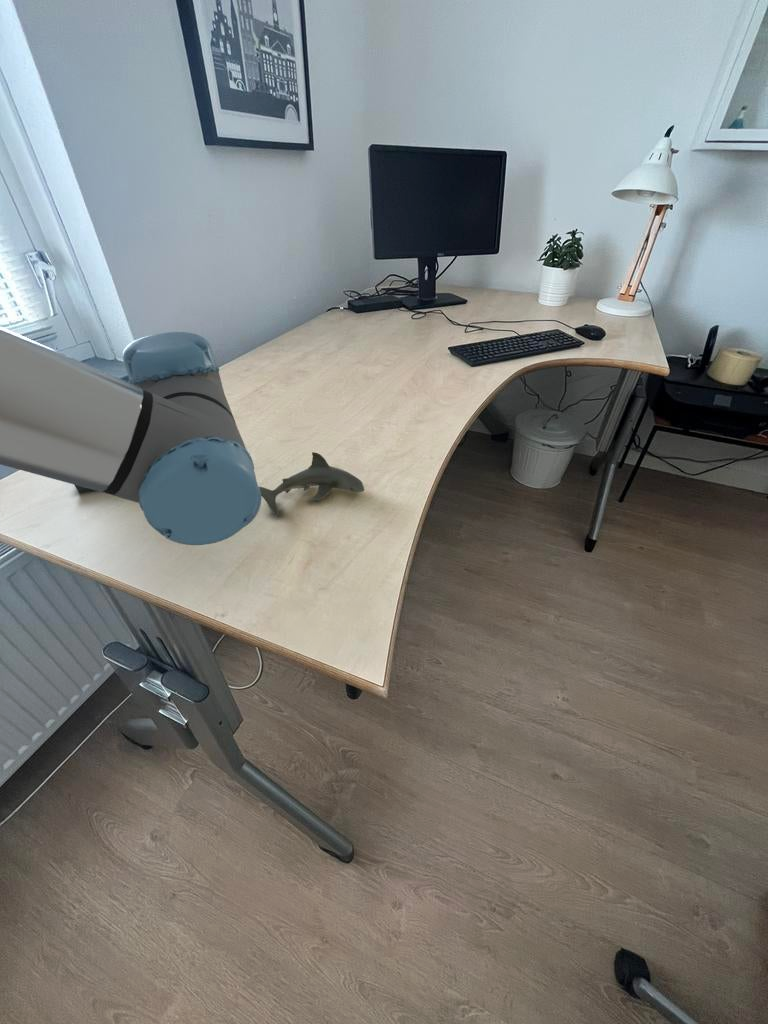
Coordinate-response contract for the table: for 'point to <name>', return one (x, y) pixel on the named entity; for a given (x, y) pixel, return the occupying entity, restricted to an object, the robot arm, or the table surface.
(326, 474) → the shark figurine
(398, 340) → the table surface
